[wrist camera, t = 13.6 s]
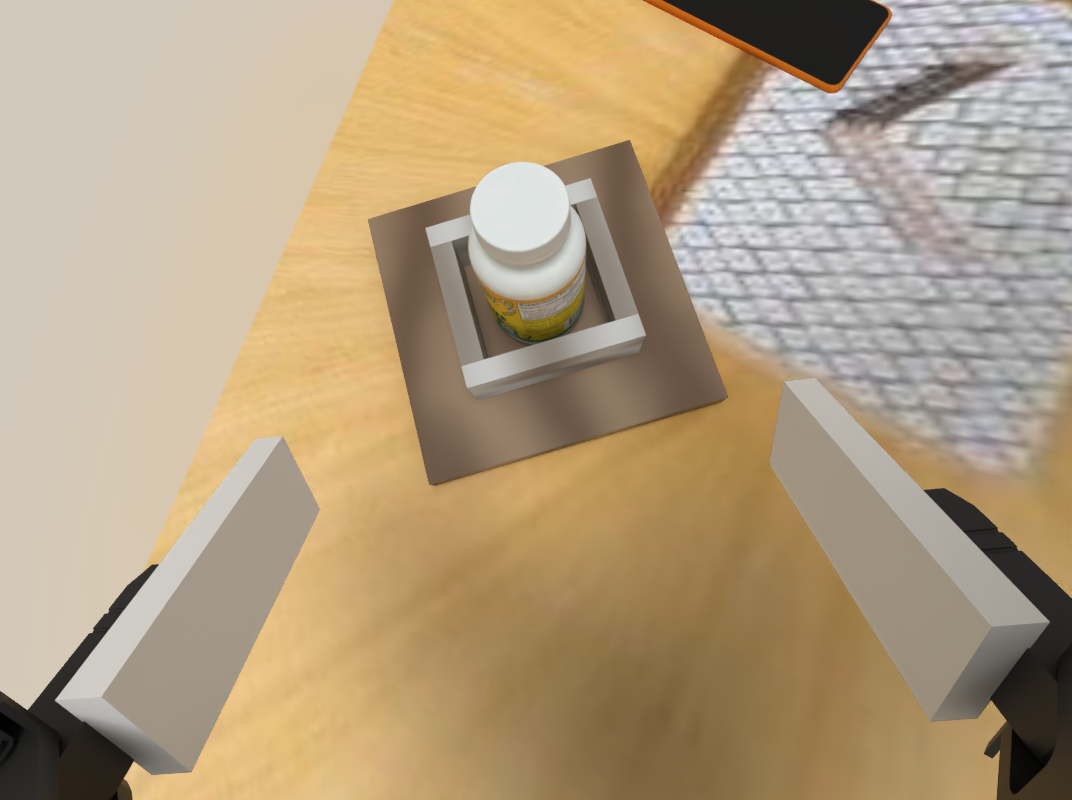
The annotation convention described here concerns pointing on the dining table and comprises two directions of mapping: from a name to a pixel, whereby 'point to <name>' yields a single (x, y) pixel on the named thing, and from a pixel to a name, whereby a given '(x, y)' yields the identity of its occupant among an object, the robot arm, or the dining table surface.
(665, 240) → the square framed base tray
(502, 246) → the supplement bottle
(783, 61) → the smartphone
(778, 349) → the dining table surface
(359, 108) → the dining table surface
